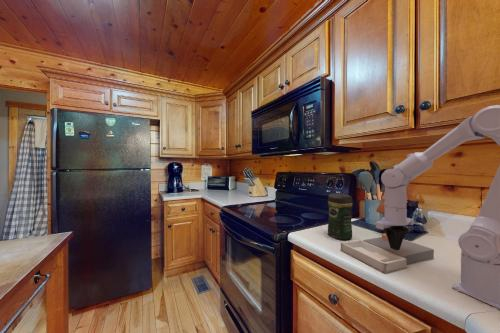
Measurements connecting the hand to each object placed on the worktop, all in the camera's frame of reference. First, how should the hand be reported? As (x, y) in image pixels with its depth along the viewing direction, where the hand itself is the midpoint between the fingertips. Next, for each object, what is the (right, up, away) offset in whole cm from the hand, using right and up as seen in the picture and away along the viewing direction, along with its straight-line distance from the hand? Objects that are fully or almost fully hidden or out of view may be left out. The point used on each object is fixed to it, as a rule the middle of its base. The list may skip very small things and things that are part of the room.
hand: (394, 248), depth 64 cm
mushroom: (+15, -4, +26) cm, 31 cm away
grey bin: (-7, -4, +2) cm, 8 cm away
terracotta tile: (+6, -1, +9) cm, 11 cm away
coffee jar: (-8, -4, +22) cm, 24 cm away
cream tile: (-7, -2, -2) cm, 7 cm away
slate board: (+5, -4, +6) cm, 9 cm away
